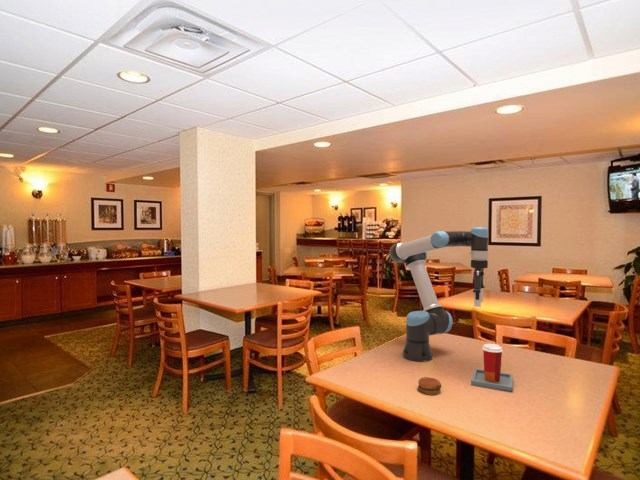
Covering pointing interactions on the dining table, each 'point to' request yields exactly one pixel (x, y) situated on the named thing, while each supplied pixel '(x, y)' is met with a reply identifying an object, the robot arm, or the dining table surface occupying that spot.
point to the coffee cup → (492, 362)
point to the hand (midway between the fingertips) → (478, 303)
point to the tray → (503, 384)
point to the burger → (429, 386)
